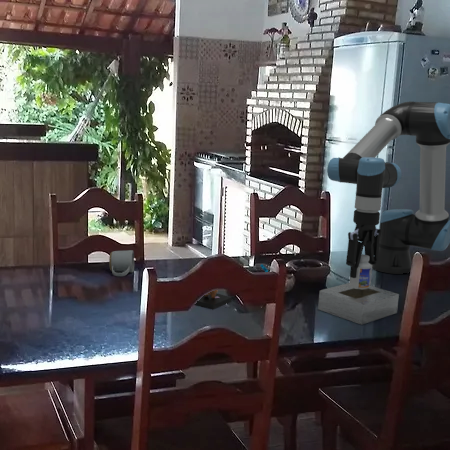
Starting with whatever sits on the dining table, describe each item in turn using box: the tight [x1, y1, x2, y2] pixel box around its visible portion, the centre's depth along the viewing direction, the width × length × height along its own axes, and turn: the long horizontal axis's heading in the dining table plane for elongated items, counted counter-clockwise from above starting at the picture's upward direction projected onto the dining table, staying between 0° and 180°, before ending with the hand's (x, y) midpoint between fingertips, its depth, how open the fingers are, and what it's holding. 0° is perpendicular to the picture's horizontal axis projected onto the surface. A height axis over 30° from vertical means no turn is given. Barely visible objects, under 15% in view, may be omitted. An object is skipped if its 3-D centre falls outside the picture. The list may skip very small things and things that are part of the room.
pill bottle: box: [355, 253, 371, 289], centre depth 192 cm, size 5×5×10 cm
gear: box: [259, 263, 269, 273], centre depth 216 cm, size 11×6×10 cm
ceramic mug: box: [108, 249, 135, 278], centre depth 222 cm, size 11×8×8 cm
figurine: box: [194, 290, 233, 311], centre depth 195 cm, size 10×10×12 cm
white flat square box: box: [317, 282, 400, 326], centre depth 194 cm, size 18×16×6 cm
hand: (359, 286), depth 193 cm, fingers closed on pill bottle, 5 cm apart
